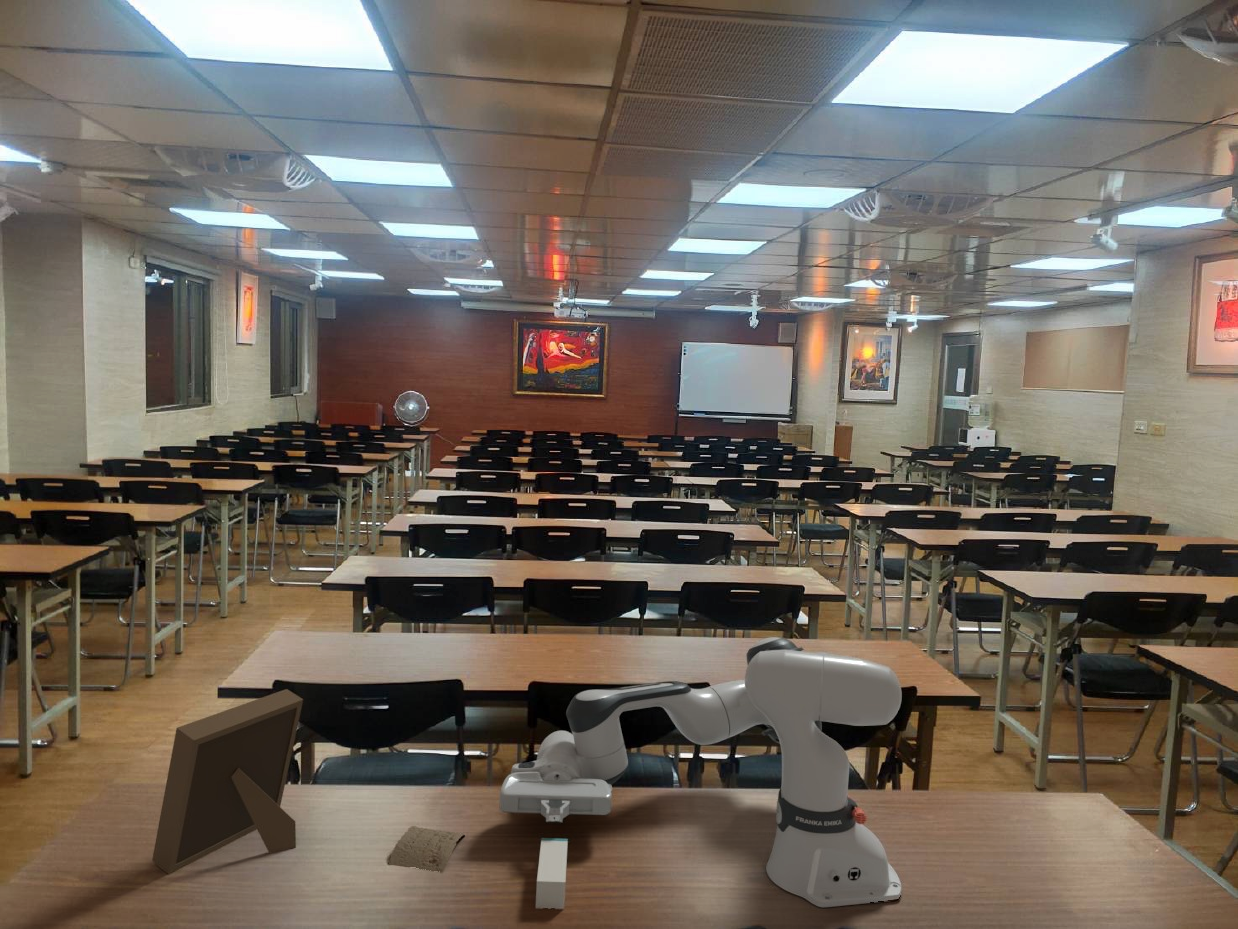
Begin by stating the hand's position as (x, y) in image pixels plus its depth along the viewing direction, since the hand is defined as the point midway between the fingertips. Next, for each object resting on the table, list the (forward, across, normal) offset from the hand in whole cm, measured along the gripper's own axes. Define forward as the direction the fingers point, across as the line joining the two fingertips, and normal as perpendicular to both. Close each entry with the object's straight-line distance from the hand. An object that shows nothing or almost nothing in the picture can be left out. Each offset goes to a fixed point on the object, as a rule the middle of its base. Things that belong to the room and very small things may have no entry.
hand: (554, 818), depth 150 cm
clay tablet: (-2, +22, -8) cm, 23 cm away
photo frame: (0, +54, -7) cm, 54 cm away
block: (+2, 0, -5) cm, 5 cm away
